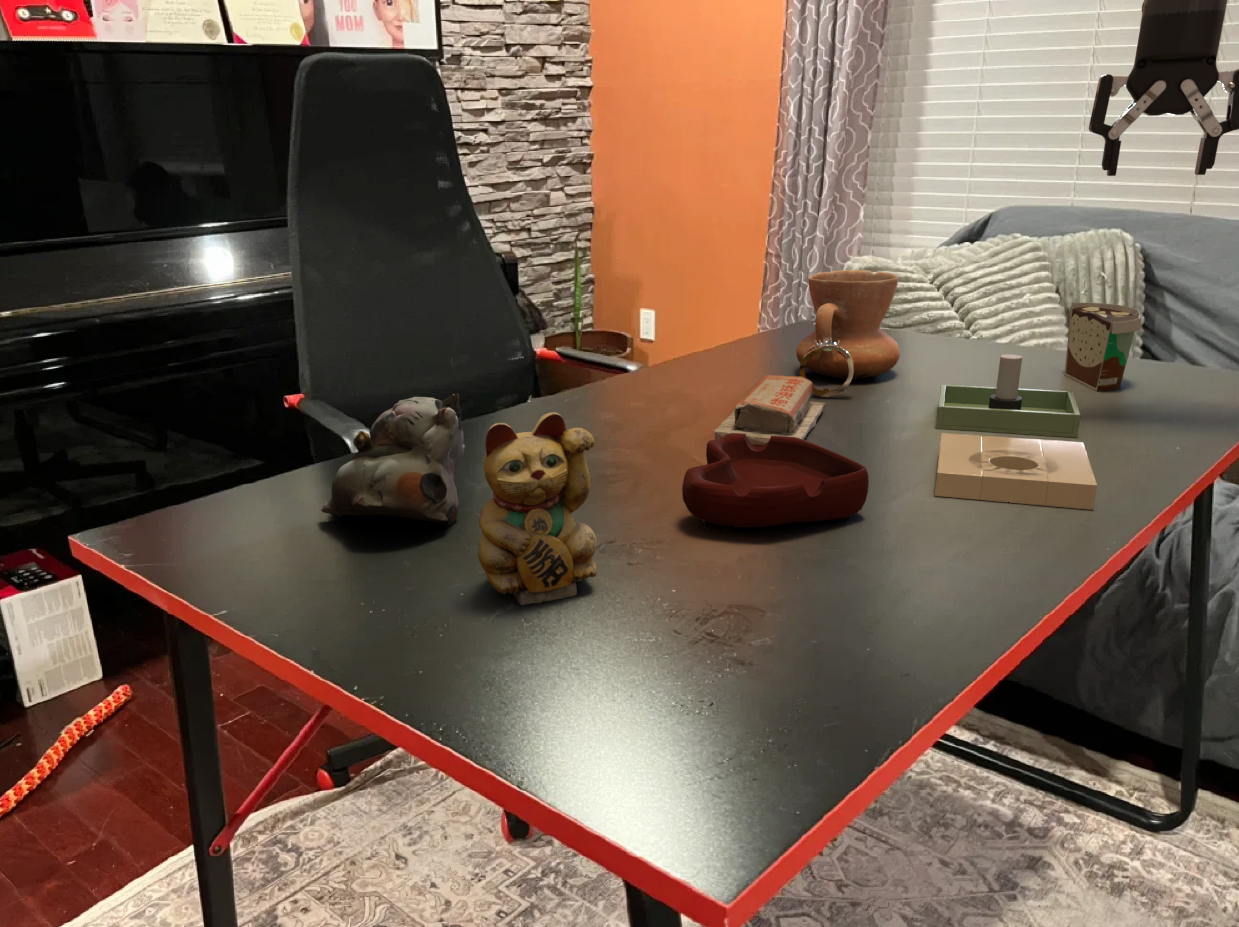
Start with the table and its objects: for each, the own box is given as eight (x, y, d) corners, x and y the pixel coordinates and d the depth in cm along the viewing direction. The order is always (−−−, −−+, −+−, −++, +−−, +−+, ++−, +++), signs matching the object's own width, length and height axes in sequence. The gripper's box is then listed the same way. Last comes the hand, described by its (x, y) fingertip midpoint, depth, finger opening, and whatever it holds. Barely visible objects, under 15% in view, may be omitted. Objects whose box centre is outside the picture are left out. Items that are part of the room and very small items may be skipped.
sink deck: (1079, 464, 107) (1083, 442, 106) (1093, 510, 95) (1097, 485, 94) (938, 454, 112) (941, 432, 111) (934, 496, 100) (937, 472, 99)
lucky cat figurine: (306, 512, 101) (335, 378, 102) (417, 536, 107) (443, 409, 108) (352, 514, 88) (385, 360, 89) (475, 542, 94) (504, 396, 95)
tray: (1069, 412, 126) (1072, 391, 125) (1077, 437, 116) (1080, 414, 115) (938, 404, 131) (941, 384, 130) (936, 428, 121) (938, 406, 120)
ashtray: (858, 554, 87) (862, 499, 86) (673, 535, 93) (673, 483, 91) (872, 487, 103) (876, 440, 101) (713, 474, 108) (714, 429, 107)
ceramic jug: (829, 357, 159) (835, 264, 154) (918, 368, 149) (928, 270, 144) (768, 379, 147) (772, 280, 141) (861, 394, 137) (869, 287, 132)
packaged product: (749, 370, 132) (827, 374, 128) (748, 406, 134) (825, 411, 130) (713, 404, 116) (801, 410, 113) (712, 444, 118) (798, 452, 114)
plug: (1019, 413, 124) (1027, 353, 121) (1020, 421, 121) (1028, 360, 118) (987, 411, 125) (994, 352, 123) (987, 419, 122) (995, 358, 120)
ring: (796, 398, 136) (799, 339, 133) (801, 392, 139) (804, 334, 136) (849, 402, 134) (854, 341, 131) (853, 396, 136) (858, 337, 133)
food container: (1149, 392, 133) (1163, 316, 129) (1102, 393, 133) (1114, 317, 129) (1103, 371, 144) (1114, 300, 141) (1059, 372, 145) (1070, 301, 141)
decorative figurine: (498, 618, 78) (487, 432, 73) (464, 579, 85) (451, 406, 80) (610, 593, 82) (607, 413, 76) (568, 557, 89) (562, 390, 83)
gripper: (1110, 12, 104) (1085, 178, 110) (1273, 1, 99) (1238, 176, 105) (1102, 18, 111) (1079, 174, 117) (1255, 8, 106) (1223, 172, 112)
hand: (1155, 175), depth 111 cm, fingers open, 8 cm apart
